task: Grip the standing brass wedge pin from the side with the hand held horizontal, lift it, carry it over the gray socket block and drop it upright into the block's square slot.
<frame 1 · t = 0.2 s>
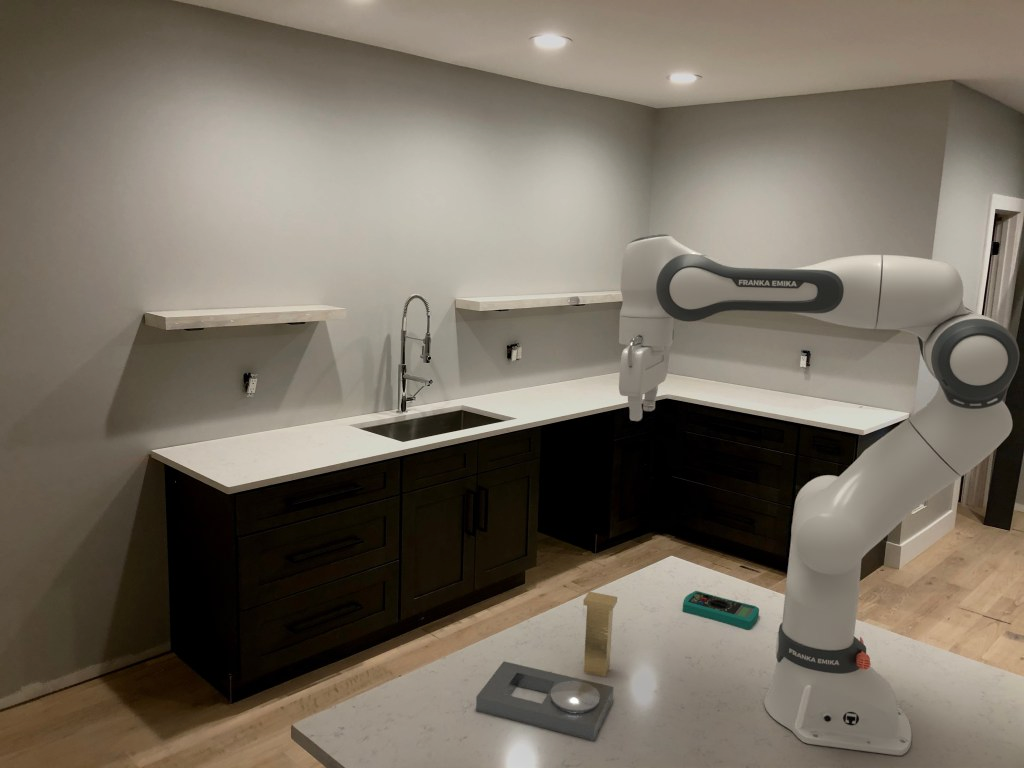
hand: (642, 415, 135), 47 cm above the countertop, tool pointing down, fingers open, 8 cm apart
gray socket block: (545, 705, 133), on the countertop
digital multimeter: (720, 616, 167), on the countertop
wedge pin: (596, 670, 144), on the countertop
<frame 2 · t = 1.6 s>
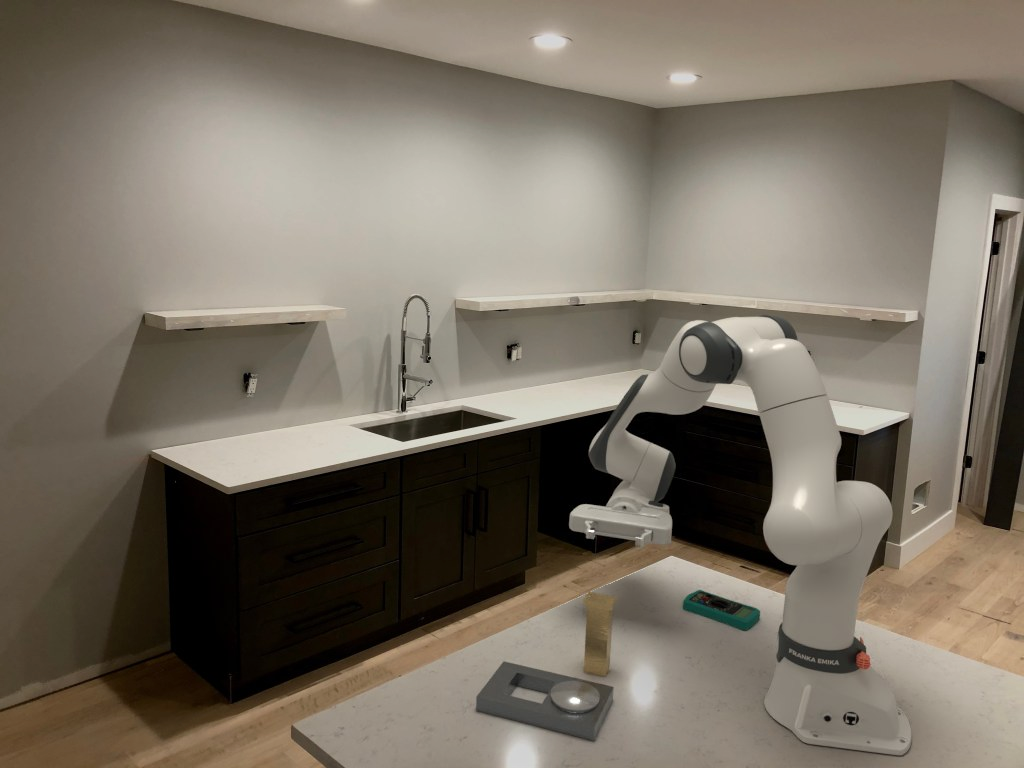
hand: (614, 538, 151), 21 cm above the countertop, tool horizontal, fingers open, 8 cm apart
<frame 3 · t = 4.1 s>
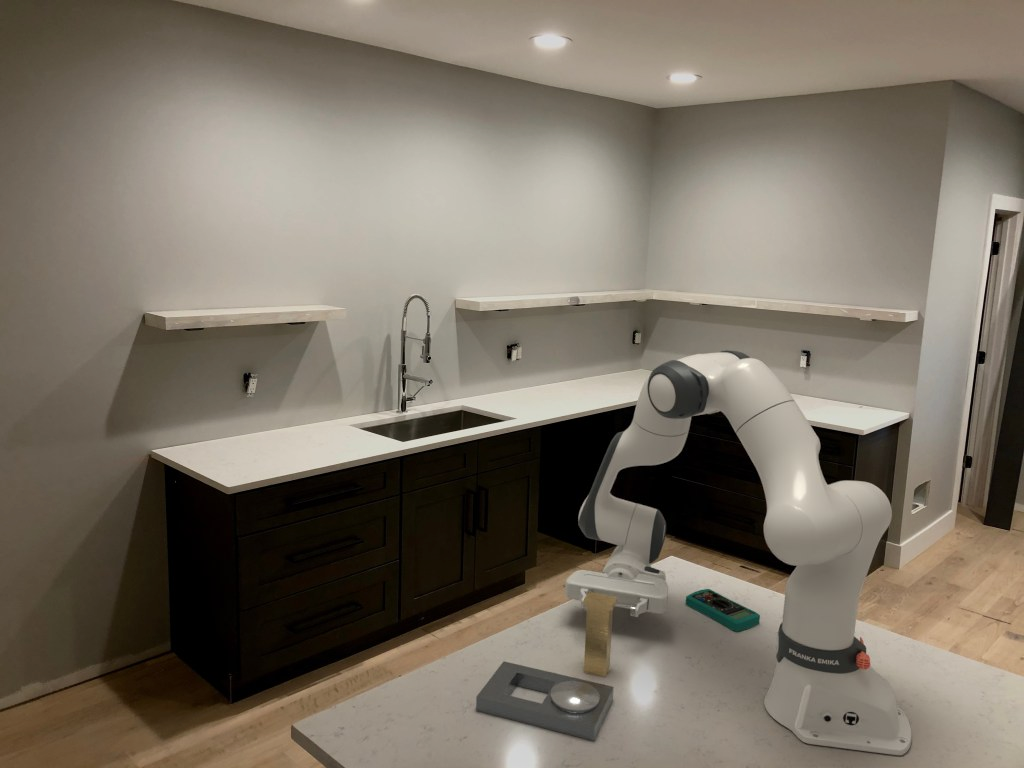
hand: (609, 608, 151), 8 cm above the countertop, tool horizontal, fingers open, 8 cm apart
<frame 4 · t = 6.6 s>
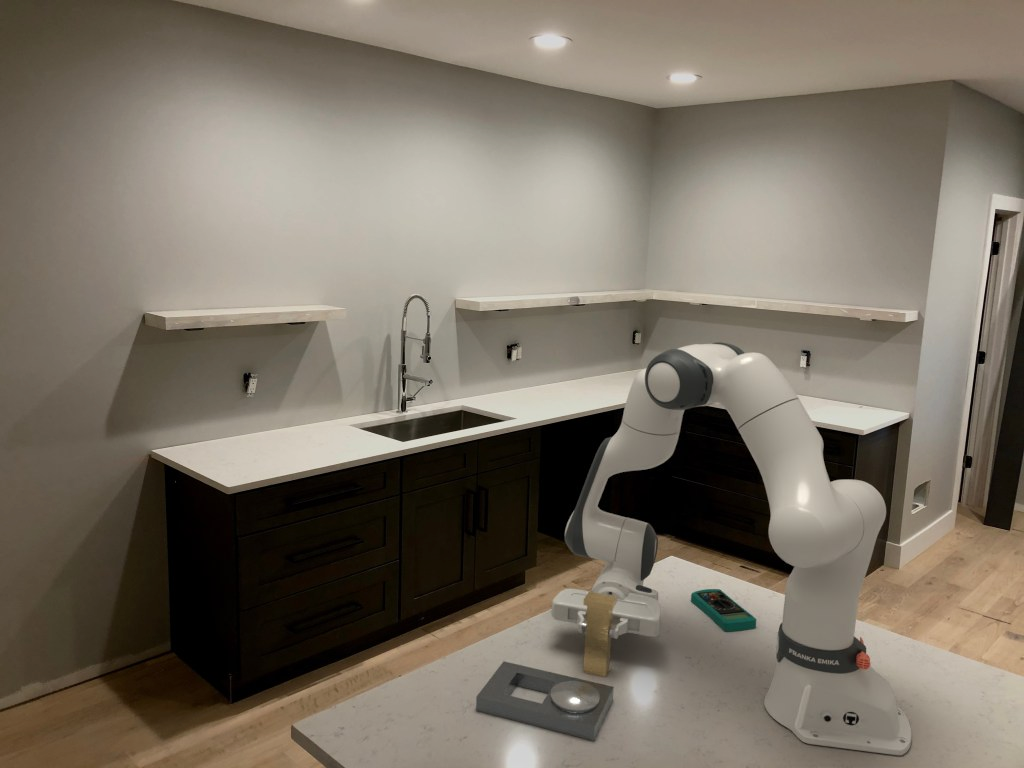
hand: (597, 631, 142), 8 cm above the countertop, tool horizontal, fingers closed on wedge pin, 4 cm apart
wedge pin: (596, 670, 144), on the countertop, touching gripper
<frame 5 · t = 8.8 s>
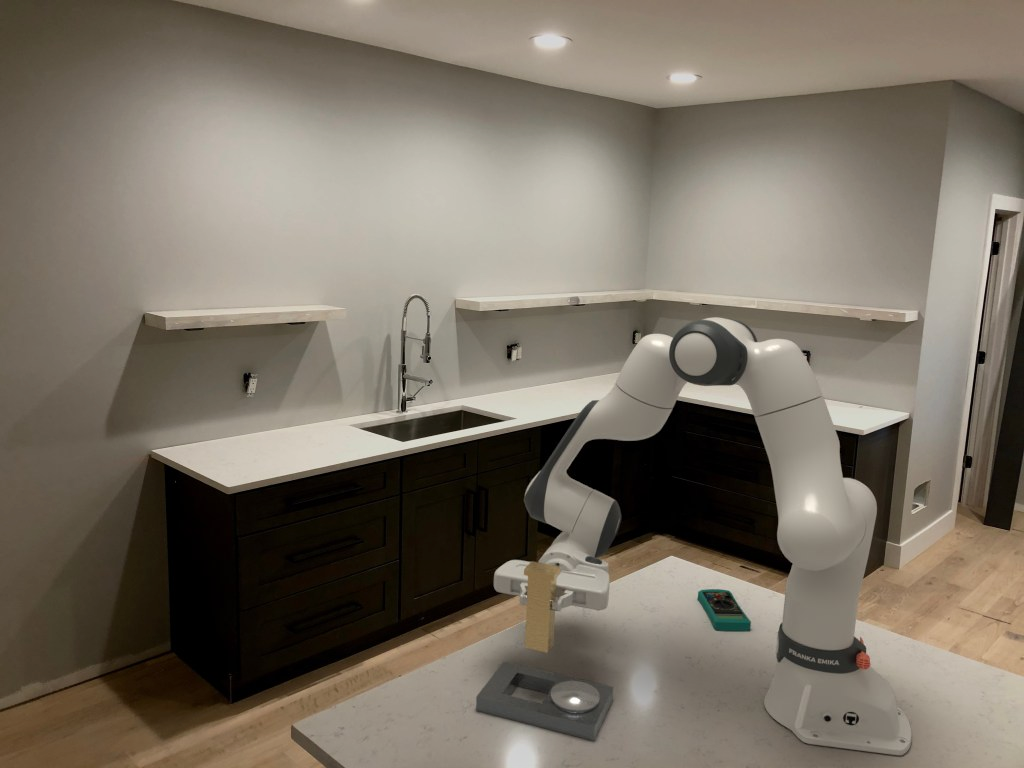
hand: (539, 604, 132), 17 cm above the countertop, tool horizontal, fingers closed on wedge pin, 4 cm apart
wedge pin: (539, 645, 134), point 9 cm above the countertop, touching gripper
when the fingers open (9 cm above the countertop, at t = 11.3 s): wedge pin stays where it is, resting in gray socket block.
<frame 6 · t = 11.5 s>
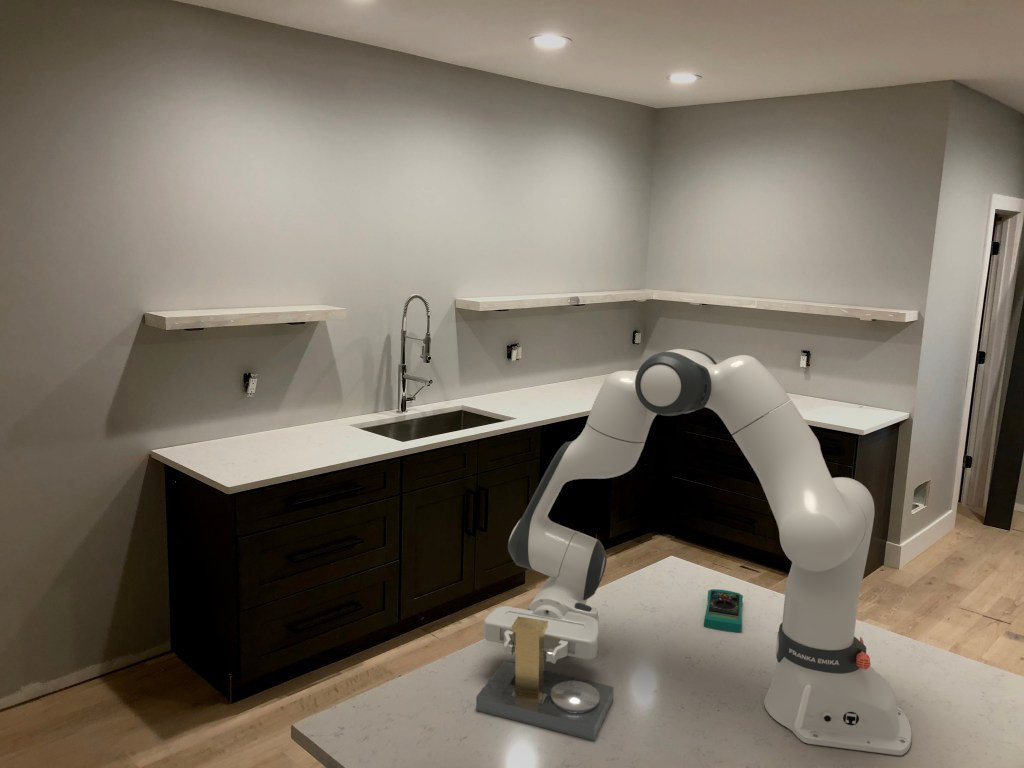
hand: (528, 654, 131), 9 cm above the countertop, tool horizontal, fingers open, 6 cm apart
wedge pin: (529, 700, 134), resting in gray socket block
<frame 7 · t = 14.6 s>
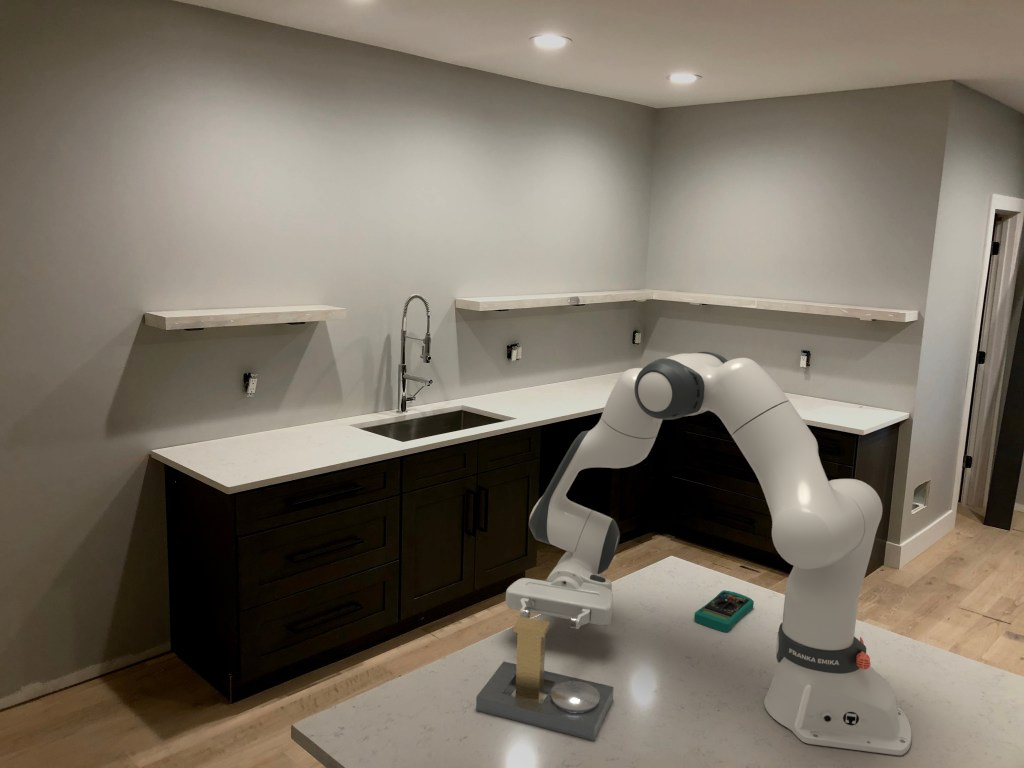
hand: (548, 620, 143), 9 cm above the countertop, tool horizontal, fingers open, 8 cm apart
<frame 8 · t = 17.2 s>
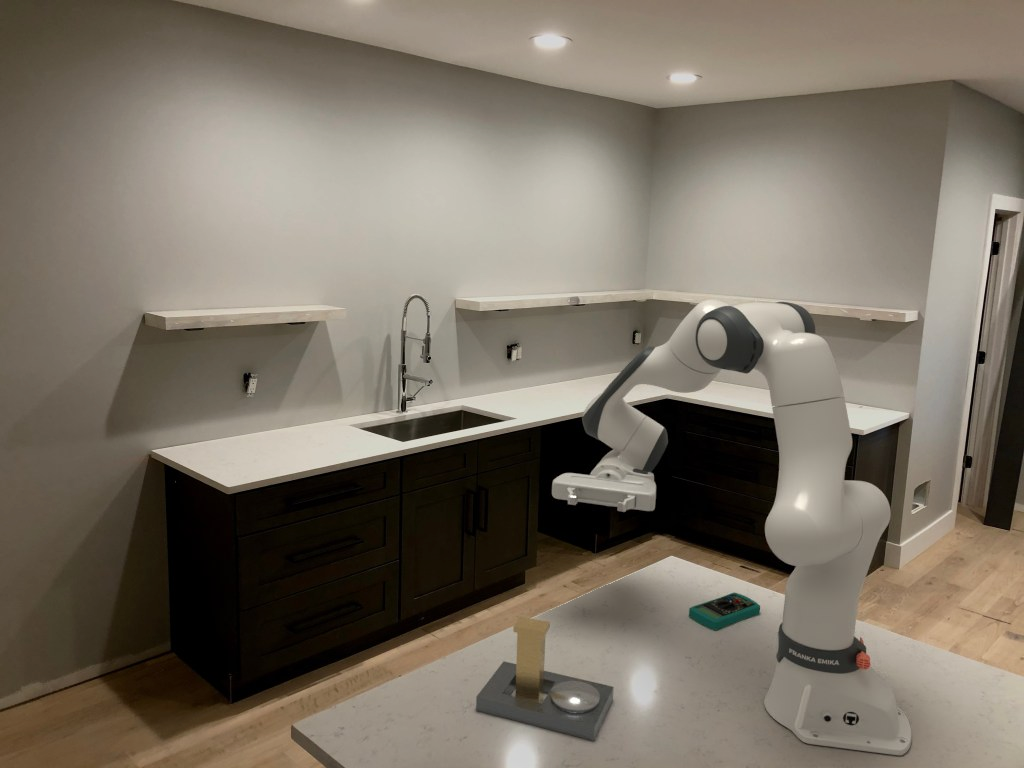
hand: (596, 504, 148), 28 cm above the countertop, tool horizontal, fingers open, 8 cm apart
at the end: wedge pin 0.1 cm from the target spot, resting in gray socket block; wedge pin tilted 0°; the gripper is holding nothing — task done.
